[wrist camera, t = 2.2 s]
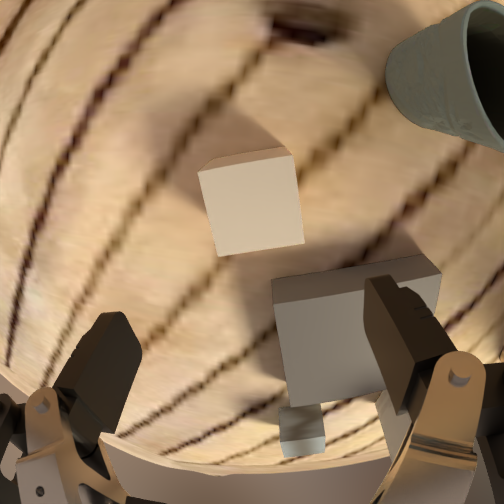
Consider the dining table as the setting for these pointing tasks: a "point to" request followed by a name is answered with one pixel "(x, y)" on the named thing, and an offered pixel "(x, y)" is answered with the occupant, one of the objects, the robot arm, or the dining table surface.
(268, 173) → the white cube
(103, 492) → the robot arm
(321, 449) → the grey cube
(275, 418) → the dining table surface
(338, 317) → the plinth
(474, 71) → the green cup
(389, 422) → the supplement box
